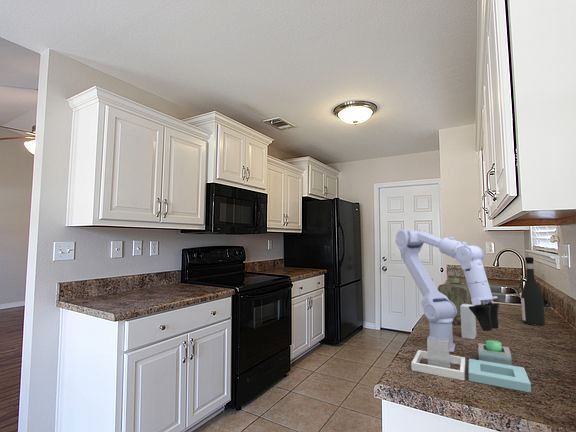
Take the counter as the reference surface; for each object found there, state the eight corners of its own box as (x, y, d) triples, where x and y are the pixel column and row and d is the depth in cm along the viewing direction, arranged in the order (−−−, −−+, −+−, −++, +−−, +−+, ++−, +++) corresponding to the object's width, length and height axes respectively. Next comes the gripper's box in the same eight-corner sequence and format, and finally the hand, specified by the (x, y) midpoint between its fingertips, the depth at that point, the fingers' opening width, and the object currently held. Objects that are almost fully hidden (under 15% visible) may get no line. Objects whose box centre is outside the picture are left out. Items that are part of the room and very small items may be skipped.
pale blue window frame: (469, 365, 92) (469, 358, 92) (524, 375, 86) (523, 367, 86) (468, 380, 82) (468, 372, 82) (531, 392, 75) (530, 384, 76)
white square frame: (418, 356, 100) (418, 349, 100) (465, 364, 93) (465, 357, 93) (411, 370, 89) (411, 362, 89) (464, 380, 82) (464, 372, 82)
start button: (486, 350, 98) (485, 339, 98) (501, 353, 96) (500, 341, 96) (486, 354, 95) (485, 342, 95) (502, 357, 93) (501, 344, 93)
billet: (429, 363, 94) (428, 335, 95) (450, 367, 91) (449, 338, 92) (428, 367, 91) (427, 339, 91) (449, 371, 88) (448, 342, 89)
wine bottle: (519, 323, 144) (515, 257, 147) (526, 321, 148) (522, 256, 151) (541, 327, 137) (536, 257, 140) (547, 324, 141) (543, 257, 144)
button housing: (478, 356, 100) (478, 343, 101) (509, 360, 96) (508, 347, 97) (479, 364, 94) (478, 350, 94) (512, 369, 90) (511, 354, 90)
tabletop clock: (477, 324, 140) (474, 268, 143) (471, 328, 134) (469, 269, 136) (443, 319, 151) (441, 266, 153) (436, 322, 144) (434, 267, 146)
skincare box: (464, 334, 125) (462, 303, 127) (476, 336, 123) (475, 304, 124) (461, 337, 121) (459, 305, 122) (473, 339, 118) (472, 307, 119)
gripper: (485, 280, 90) (500, 330, 86) (497, 281, 100) (512, 326, 96) (459, 284, 95) (472, 332, 90) (473, 285, 105) (486, 328, 100)
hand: (491, 329), depth 93 cm, fingers open, 7 cm apart
